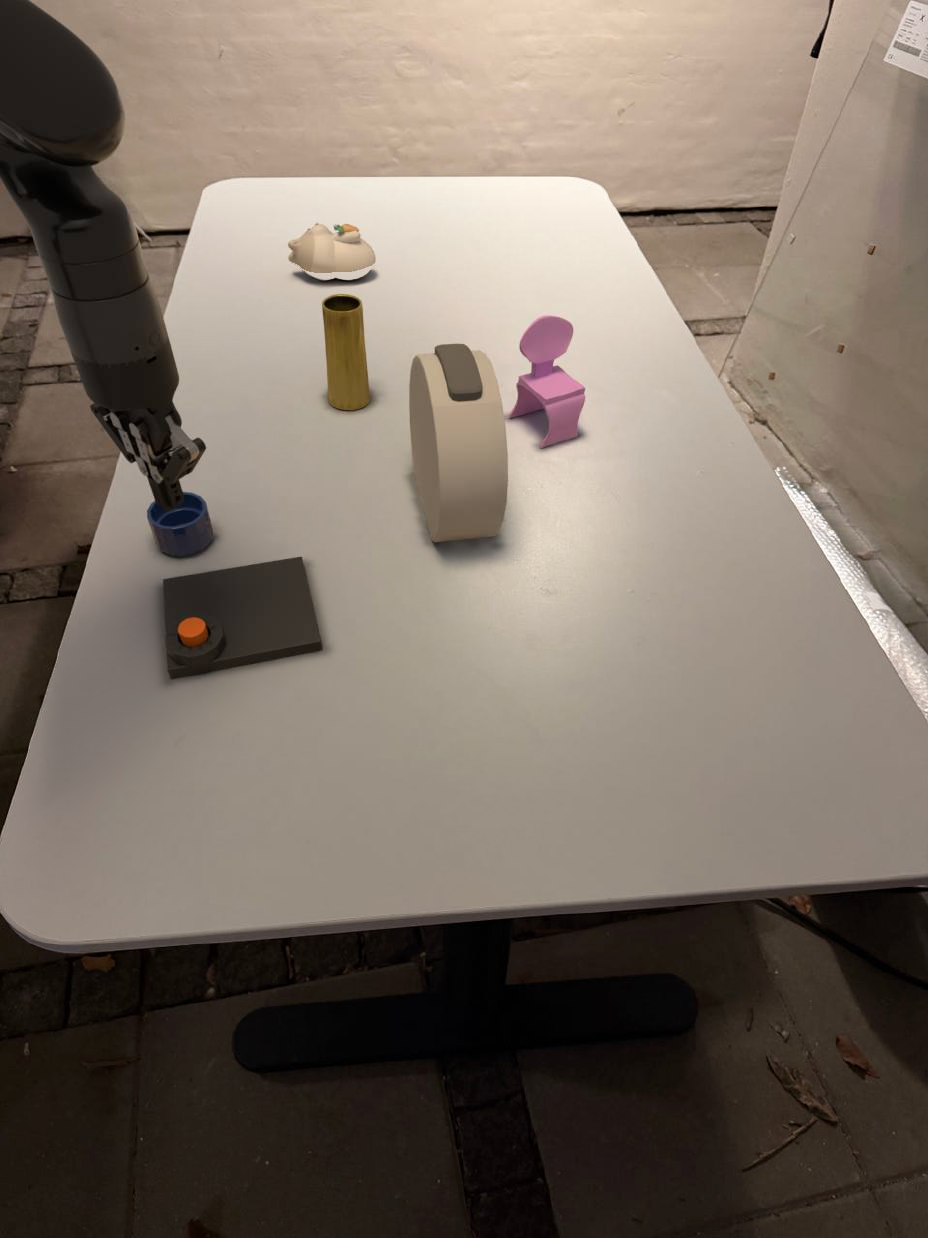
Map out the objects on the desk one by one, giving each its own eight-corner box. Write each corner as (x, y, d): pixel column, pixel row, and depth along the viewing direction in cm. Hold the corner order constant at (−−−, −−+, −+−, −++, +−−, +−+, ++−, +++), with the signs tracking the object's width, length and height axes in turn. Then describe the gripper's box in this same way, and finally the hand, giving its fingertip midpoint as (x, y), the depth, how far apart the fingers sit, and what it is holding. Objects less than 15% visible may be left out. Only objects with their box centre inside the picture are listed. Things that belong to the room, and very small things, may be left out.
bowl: (157, 562, 87) (147, 532, 84) (156, 526, 91) (146, 496, 88) (216, 553, 89) (208, 523, 85) (212, 517, 93) (204, 488, 90)
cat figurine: (377, 218, 132) (287, 209, 128) (379, 260, 130) (288, 252, 127) (371, 254, 141) (287, 247, 137) (373, 294, 139) (288, 288, 136)
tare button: (182, 649, 76) (178, 639, 75) (180, 630, 77) (177, 620, 76) (209, 644, 76) (206, 634, 75) (207, 625, 78) (204, 615, 77)
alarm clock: (501, 558, 90) (517, 410, 76) (438, 565, 89) (442, 416, 74) (464, 450, 104) (471, 308, 89) (409, 455, 103) (407, 311, 88)
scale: (171, 680, 76) (163, 661, 74) (165, 587, 85) (159, 568, 83) (322, 651, 80) (319, 632, 77) (303, 565, 88) (300, 545, 86)
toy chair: (536, 452, 104) (550, 349, 93) (501, 419, 109) (510, 317, 98) (585, 436, 108) (604, 334, 96) (549, 404, 112) (563, 304, 101)
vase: (371, 410, 110) (366, 313, 99) (328, 412, 109) (318, 314, 98) (369, 387, 114) (364, 291, 103) (327, 388, 113) (317, 292, 102)
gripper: (25, 328, 62) (94, 497, 75) (134, 383, 57) (188, 554, 70) (103, 294, 66) (156, 460, 79) (211, 343, 61) (249, 511, 74)
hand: (171, 504), depth 75 cm, fingers closed
